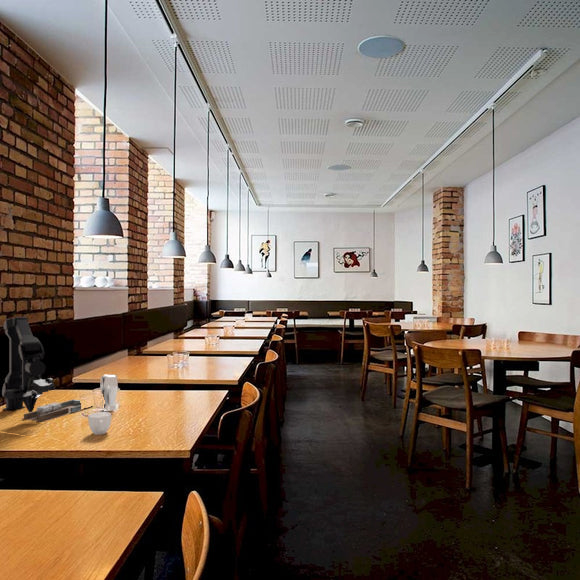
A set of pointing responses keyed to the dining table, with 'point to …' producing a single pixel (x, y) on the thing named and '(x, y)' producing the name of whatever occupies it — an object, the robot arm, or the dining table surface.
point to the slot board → (65, 409)
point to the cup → (99, 422)
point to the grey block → (55, 406)
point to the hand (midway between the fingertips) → (30, 411)
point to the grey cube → (43, 410)
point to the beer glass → (109, 391)
